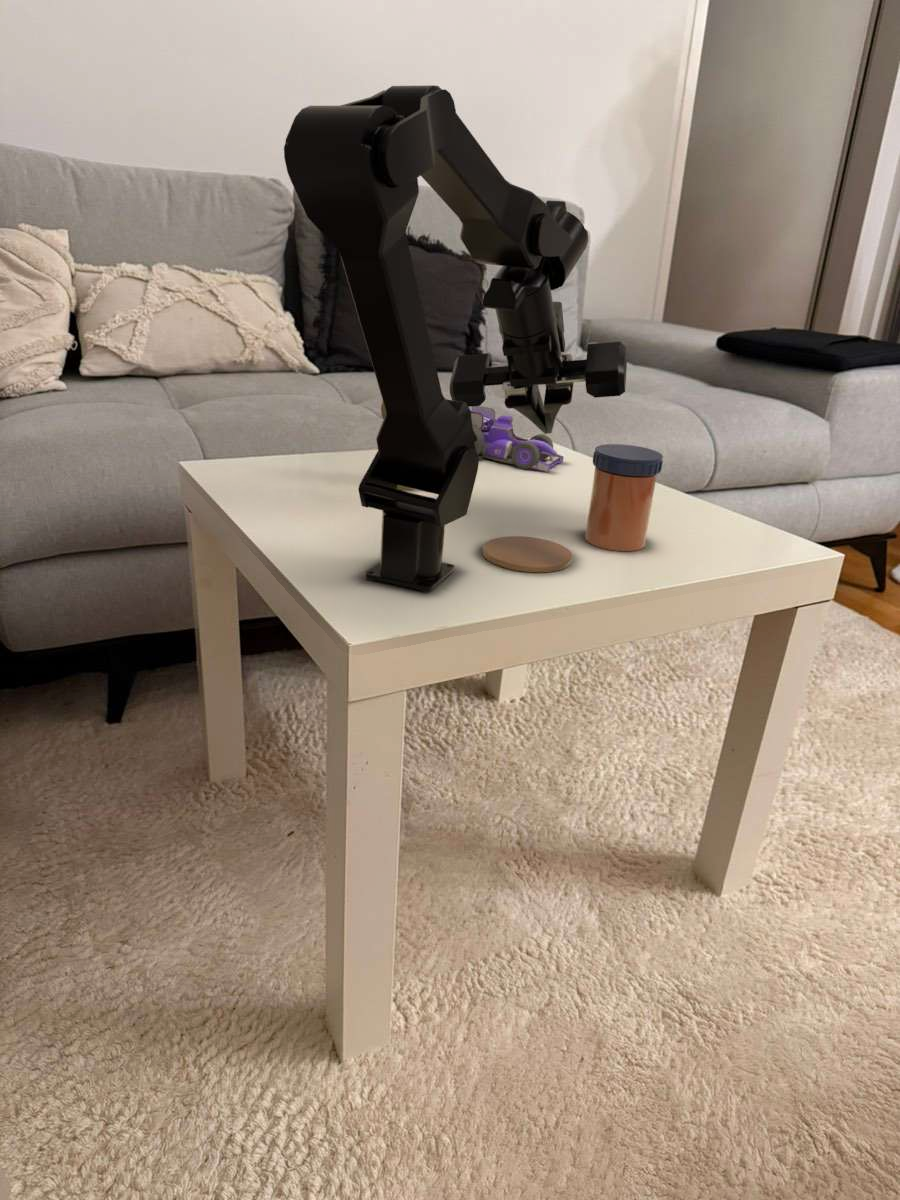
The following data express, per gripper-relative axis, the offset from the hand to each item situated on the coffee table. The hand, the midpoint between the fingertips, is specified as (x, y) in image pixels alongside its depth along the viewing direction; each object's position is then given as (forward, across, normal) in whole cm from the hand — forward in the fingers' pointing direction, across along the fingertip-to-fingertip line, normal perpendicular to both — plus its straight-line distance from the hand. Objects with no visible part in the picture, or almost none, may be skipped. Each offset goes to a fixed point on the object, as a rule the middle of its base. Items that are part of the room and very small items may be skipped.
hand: (548, 430), depth 98 cm
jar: (+4, -8, +13) cm, 16 cm away
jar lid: (-4, -10, +8) cm, 13 cm away
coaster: (-2, 0, +20) cm, 20 cm away
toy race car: (+19, +10, -14) cm, 25 cm away
